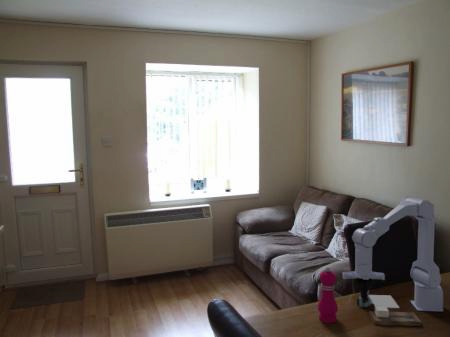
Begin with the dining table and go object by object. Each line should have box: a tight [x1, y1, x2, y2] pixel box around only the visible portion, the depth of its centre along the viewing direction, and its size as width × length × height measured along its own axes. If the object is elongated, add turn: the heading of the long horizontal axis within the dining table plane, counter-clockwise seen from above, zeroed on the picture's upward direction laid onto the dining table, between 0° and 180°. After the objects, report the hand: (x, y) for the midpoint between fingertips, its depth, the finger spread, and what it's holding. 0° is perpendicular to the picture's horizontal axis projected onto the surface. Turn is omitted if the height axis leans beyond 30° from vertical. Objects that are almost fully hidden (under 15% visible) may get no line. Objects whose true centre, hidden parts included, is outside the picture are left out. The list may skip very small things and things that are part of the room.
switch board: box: [368, 310, 422, 327], centre depth 139 cm, size 16×7×2 cm, turn 84°
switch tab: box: [374, 306, 390, 317], centre depth 139 cm, size 4×3×2 cm
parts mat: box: [369, 294, 400, 309], centre depth 153 cm, size 9×11×1 cm
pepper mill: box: [317, 266, 339, 324], centre depth 140 cm, size 7×7×20 cm
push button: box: [356, 283, 373, 308], centre depth 150 cm, size 7×5×10 cm
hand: (363, 297), depth 139 cm, fingers closed
